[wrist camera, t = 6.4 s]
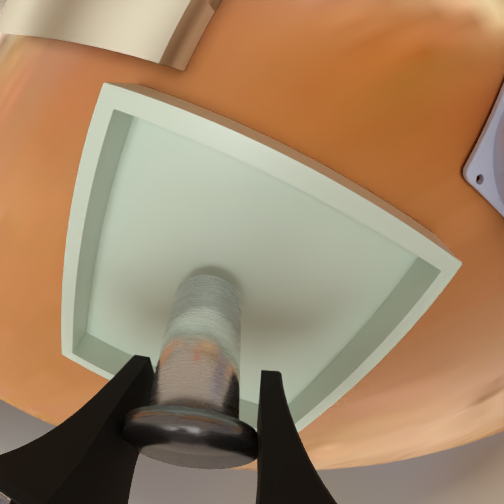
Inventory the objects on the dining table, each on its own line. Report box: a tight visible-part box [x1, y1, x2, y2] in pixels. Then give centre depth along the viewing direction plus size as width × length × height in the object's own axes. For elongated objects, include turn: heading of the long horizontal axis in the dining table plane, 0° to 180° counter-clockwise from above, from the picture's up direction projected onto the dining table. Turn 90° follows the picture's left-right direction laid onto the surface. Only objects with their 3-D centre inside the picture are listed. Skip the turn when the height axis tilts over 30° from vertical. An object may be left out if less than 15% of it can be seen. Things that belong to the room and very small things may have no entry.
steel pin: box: [122, 274, 259, 469], centre depth 11 cm, size 4×4×7 cm
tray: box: [61, 82, 463, 432], centre depth 14 cm, size 16×16×3 cm
